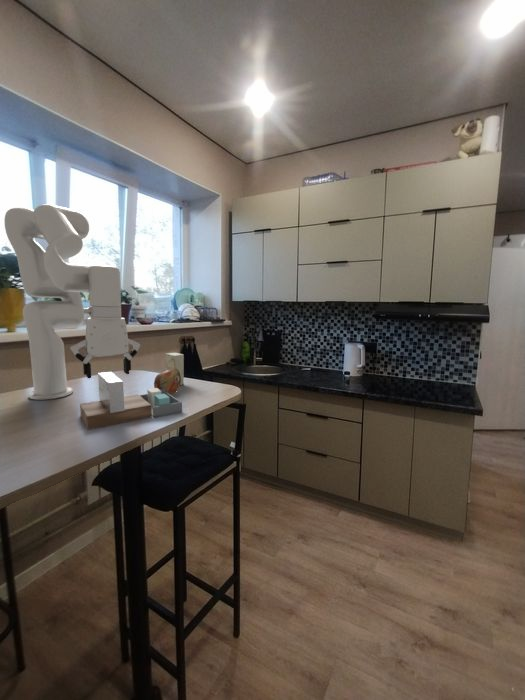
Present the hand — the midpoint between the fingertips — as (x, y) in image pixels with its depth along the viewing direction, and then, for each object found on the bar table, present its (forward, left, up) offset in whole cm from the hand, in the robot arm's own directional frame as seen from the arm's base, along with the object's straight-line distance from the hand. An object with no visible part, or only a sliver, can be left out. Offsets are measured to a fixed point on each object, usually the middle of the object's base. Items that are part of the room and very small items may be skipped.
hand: (108, 375), depth 90 cm
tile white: (-3, +12, -9) cm, 15 cm away
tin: (-12, +21, -12) cm, 27 cm away
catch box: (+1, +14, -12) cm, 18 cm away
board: (+1, +1, -12) cm, 12 cm away
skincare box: (-23, +28, -12) cm, 39 cm away
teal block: (+5, +12, -9) cm, 16 cm away
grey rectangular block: (+1, 0, -9) cm, 8 cm away
